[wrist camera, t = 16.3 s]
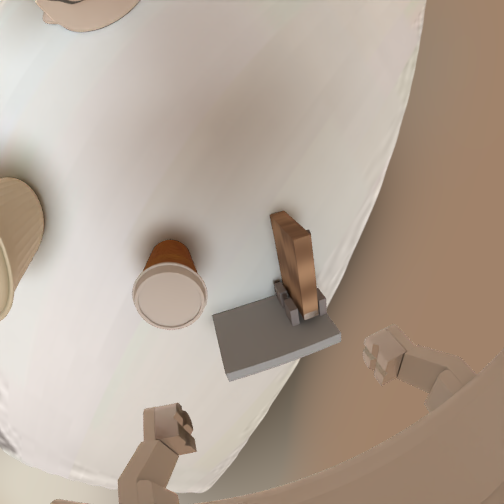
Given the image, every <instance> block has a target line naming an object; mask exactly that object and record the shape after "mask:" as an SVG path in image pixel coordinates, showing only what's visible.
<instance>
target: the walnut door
mask: <svg viewBox="0 0 504 504" xmlns="http://www.w3.org/2000/svg"><path fill="white" fill-rule="evenodd" d="M270 219H271V224H272V229H273V234H274V239H275V244H276V249H277V255H278V260H279V265H280V271H281V276H282V282H283V286H284V288H285V289H286V291H287V293H288V294H289V296H290V298H291V299H292V301H293V302H294V304H295V305H296V307H297V309H298V310H299V312H300V314H301V315H302V317H303V319H304V320H307V319H310V318H312V317H315V316H317V315H319V312H318V300H317V289H316V278H315V268H314V259H313V250H312V242H311V233H310V231H309V230H305V229H304V228H303V227H302V226H301V225H299V224H298V223H297V222H296V221H295V220H294V219H293V218H292V217H291V216H289V215H288V214H287V213H286V212H285V211H281V212H278V213H274V214H271V215H270Z"/></svg>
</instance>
